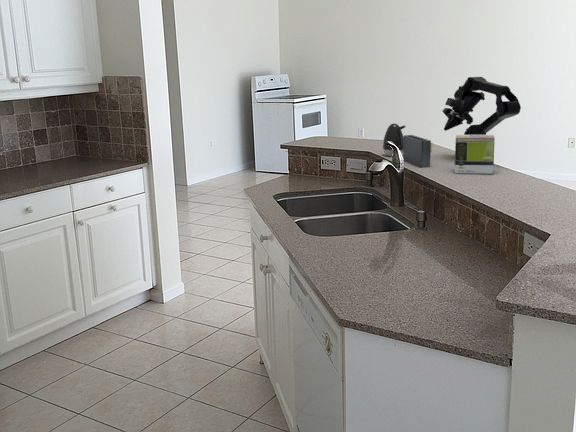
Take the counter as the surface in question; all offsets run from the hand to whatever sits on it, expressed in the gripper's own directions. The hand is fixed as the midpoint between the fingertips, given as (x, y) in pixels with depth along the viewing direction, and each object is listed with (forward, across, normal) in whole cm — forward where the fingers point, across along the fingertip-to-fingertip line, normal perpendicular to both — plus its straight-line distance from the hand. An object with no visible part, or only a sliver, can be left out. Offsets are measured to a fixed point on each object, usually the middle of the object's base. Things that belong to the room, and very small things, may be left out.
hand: (444, 130), depth 283 cm
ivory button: (+15, +10, -4) cm, 18 cm away
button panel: (+20, +3, -1) cm, 20 cm away
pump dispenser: (+21, -20, -1) cm, 29 cm away
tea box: (+11, +29, +8) cm, 32 cm away
